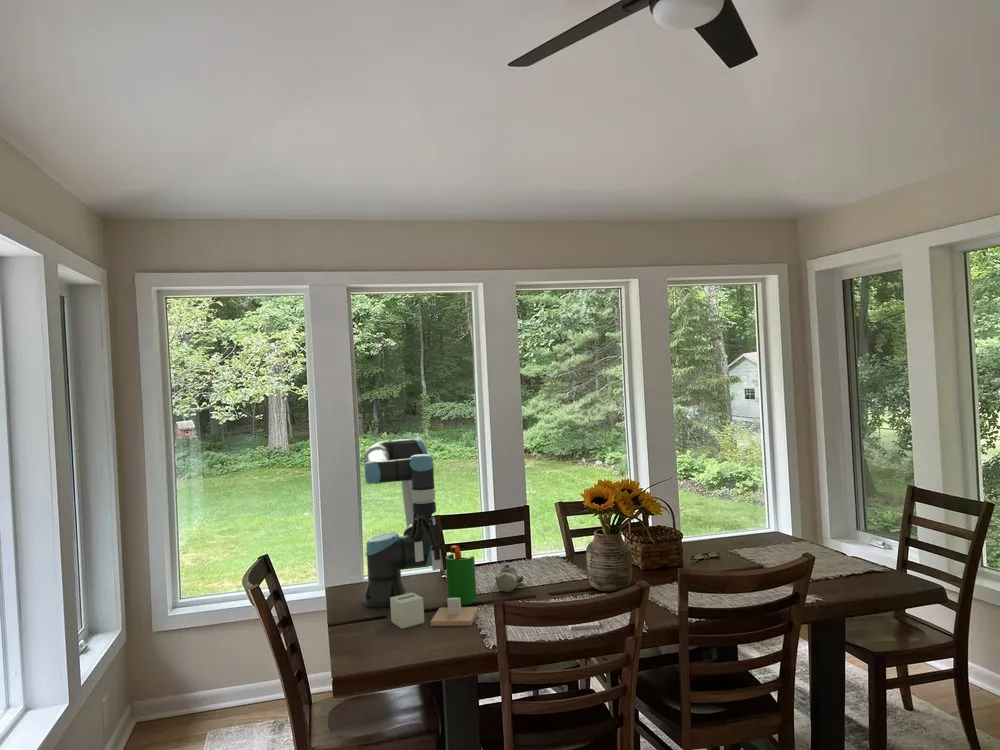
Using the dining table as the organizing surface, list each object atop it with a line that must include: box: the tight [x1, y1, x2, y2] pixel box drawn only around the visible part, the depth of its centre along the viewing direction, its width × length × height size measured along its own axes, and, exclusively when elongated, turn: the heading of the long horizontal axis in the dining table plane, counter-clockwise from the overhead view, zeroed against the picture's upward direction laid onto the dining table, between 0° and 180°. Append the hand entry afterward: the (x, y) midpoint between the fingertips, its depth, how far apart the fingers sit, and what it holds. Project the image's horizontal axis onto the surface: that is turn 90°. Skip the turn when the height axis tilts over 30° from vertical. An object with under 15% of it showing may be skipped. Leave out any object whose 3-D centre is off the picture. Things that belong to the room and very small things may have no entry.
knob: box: [390, 592, 425, 629], centre depth 232 cm, size 8×8×8 cm
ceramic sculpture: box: [494, 564, 524, 593], centre depth 263 cm, size 11×9×15 cm
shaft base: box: [430, 597, 479, 627], centre depth 233 cm, size 13×13×6 cm
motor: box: [445, 545, 478, 606], centre depth 250 cm, size 10×9×20 cm
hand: (427, 565), depth 237 cm, fingers open, 13 cm apart
